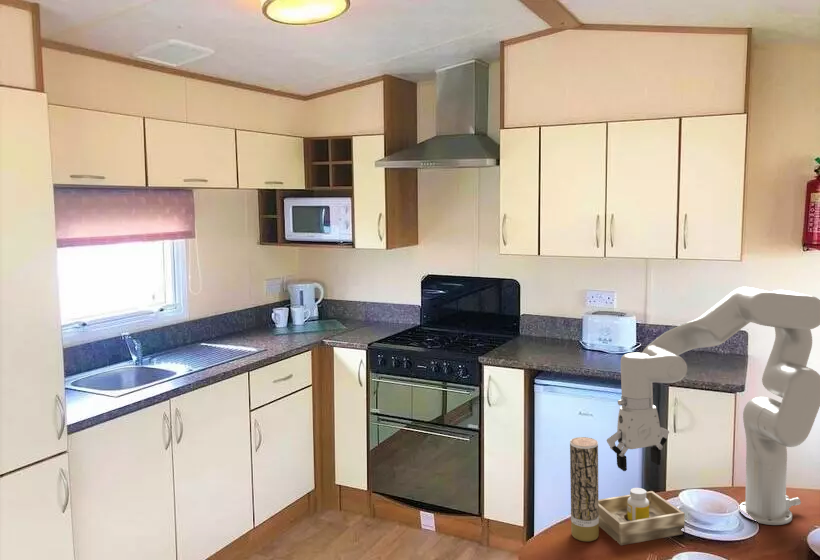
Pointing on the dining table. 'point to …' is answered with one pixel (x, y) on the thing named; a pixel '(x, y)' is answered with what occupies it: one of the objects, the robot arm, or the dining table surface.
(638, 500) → the supplement bottle
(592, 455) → the brown bark cylinder
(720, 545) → the dining table surface
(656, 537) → the pine box
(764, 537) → the dining table surface
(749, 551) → the dining table surface
